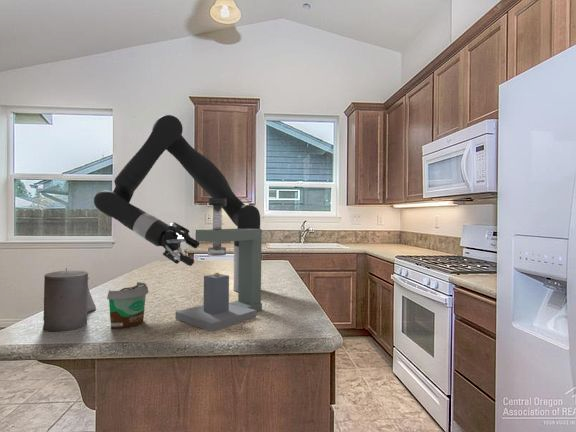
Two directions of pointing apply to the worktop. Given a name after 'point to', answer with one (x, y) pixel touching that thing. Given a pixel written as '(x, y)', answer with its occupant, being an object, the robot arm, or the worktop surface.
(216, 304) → the block
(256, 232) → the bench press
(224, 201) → the press ram
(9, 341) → the worktop surface
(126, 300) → the food container
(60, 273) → the pillar candle
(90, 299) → the flask
